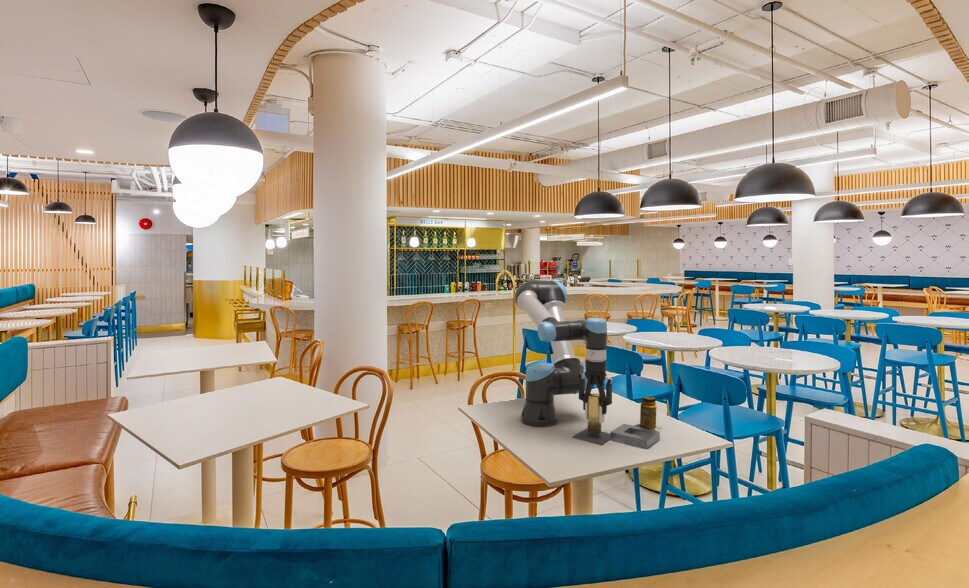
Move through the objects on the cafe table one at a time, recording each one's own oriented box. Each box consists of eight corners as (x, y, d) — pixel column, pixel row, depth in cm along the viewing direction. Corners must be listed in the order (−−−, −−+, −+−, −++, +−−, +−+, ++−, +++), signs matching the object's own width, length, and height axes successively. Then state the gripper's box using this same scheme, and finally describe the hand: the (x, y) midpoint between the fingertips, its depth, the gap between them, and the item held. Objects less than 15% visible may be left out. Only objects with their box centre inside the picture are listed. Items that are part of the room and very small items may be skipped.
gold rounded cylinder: (584, 431, 187) (585, 395, 186) (591, 428, 191) (591, 392, 190) (597, 435, 184) (598, 398, 183) (603, 431, 188) (604, 395, 187)
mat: (572, 437, 187) (572, 436, 187) (587, 428, 196) (587, 427, 196) (601, 445, 179) (601, 444, 179) (616, 435, 188) (616, 434, 188)
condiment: (660, 428, 198) (661, 398, 197) (646, 432, 193) (647, 401, 192) (645, 422, 204) (646, 394, 203) (631, 426, 199) (632, 397, 198)
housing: (610, 439, 185) (610, 431, 184) (623, 431, 194) (623, 423, 194) (647, 449, 176) (647, 440, 175) (659, 439, 185) (659, 431, 185)
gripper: (569, 358, 188) (568, 418, 190) (614, 364, 177) (612, 428, 179) (579, 355, 194) (577, 413, 196) (623, 361, 183) (621, 423, 184)
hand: (594, 420), depth 187 cm, fingers closed on gold rounded cylinder, 5 cm apart
